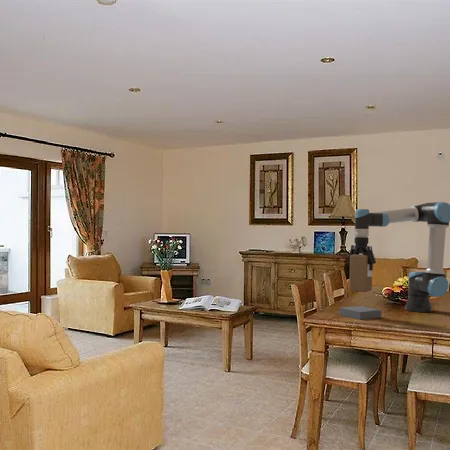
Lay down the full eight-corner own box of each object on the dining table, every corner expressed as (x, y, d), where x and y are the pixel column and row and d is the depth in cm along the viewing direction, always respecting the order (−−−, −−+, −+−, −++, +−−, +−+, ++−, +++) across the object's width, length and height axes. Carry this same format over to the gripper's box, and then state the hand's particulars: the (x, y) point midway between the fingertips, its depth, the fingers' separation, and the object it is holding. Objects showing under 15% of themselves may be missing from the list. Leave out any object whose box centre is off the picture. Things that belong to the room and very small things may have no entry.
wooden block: (372, 290, 291) (372, 254, 291) (366, 292, 283) (367, 255, 283) (354, 289, 297) (355, 254, 297) (348, 290, 288) (349, 254, 288)
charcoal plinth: (360, 312, 301) (360, 305, 301) (381, 317, 287) (381, 310, 287) (339, 314, 293) (339, 307, 293) (359, 319, 279) (359, 312, 279)
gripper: (341, 236, 299) (340, 273, 299) (372, 237, 277) (372, 277, 277) (351, 236, 303) (350, 273, 303) (383, 237, 281) (382, 277, 281)
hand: (360, 275), depth 290 cm, fingers closed on wooden block, 13 cm apart
